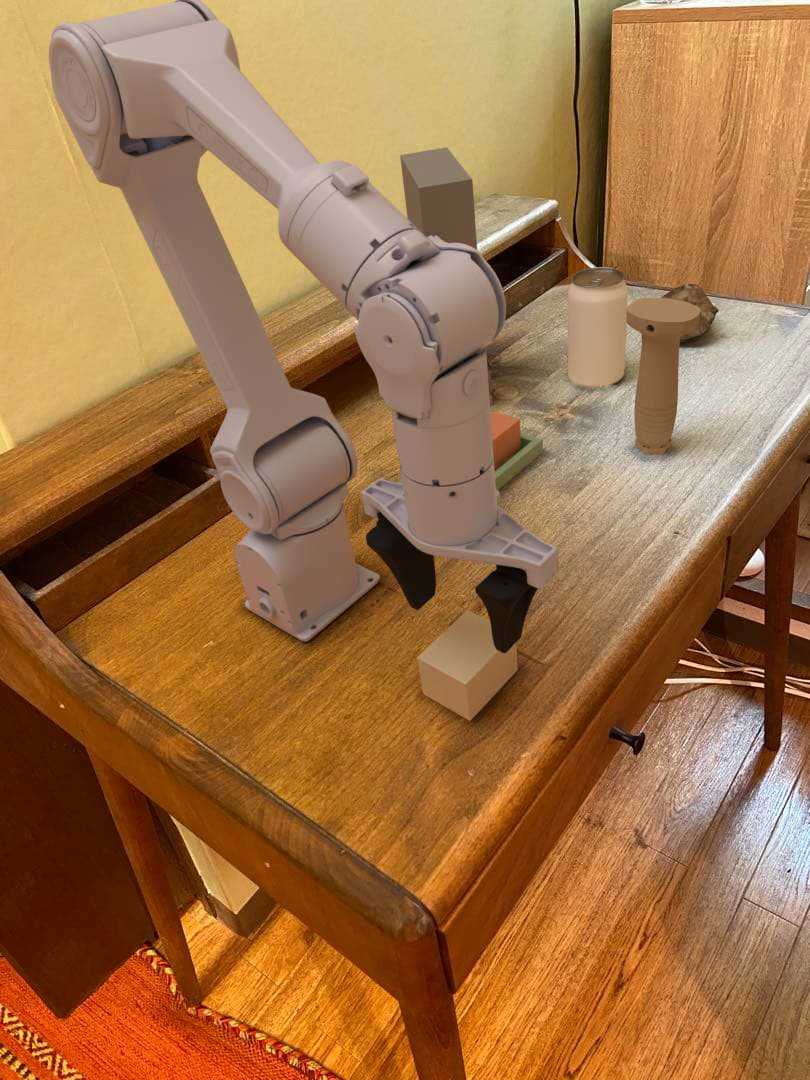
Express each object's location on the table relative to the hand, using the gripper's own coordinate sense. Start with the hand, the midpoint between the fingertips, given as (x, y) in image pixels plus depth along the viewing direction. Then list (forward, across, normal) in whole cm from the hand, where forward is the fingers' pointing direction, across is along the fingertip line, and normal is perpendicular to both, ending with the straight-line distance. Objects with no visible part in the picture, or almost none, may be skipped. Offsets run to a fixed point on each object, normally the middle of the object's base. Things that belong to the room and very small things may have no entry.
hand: (464, 621), depth 58 cm
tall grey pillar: (+6, +30, -36) cm, 48 cm away
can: (+6, +17, -46) cm, 49 cm away
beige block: (+6, 0, 0) cm, 6 cm away
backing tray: (+6, +17, -21) cm, 28 cm away
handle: (+7, +4, -35) cm, 36 cm away
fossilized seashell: (+7, +14, -61) cm, 63 cm away
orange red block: (+6, +17, -24) cm, 30 cm away
